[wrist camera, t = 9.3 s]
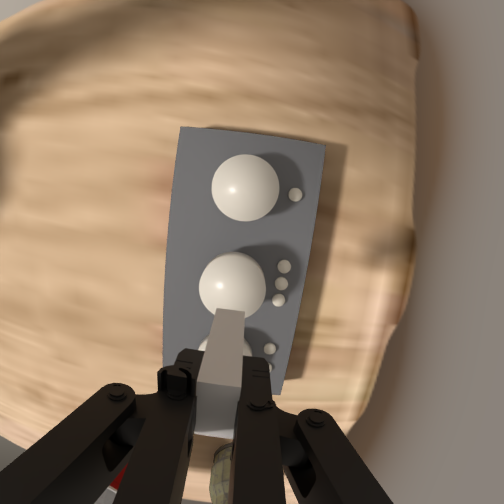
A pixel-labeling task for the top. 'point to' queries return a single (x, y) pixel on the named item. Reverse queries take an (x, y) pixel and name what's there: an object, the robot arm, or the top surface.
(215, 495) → the thermos
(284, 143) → the button panel
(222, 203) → the button one dot
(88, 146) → the top surface
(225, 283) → the button three dots
